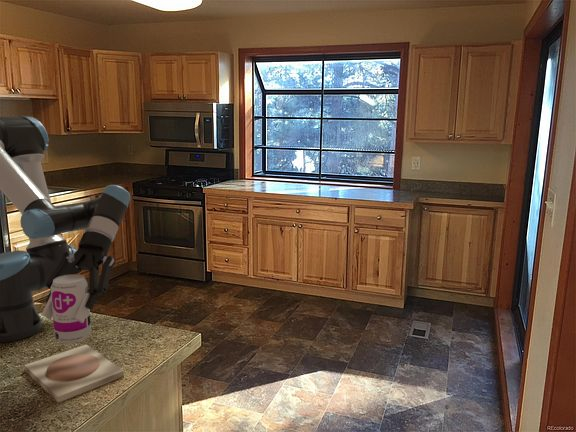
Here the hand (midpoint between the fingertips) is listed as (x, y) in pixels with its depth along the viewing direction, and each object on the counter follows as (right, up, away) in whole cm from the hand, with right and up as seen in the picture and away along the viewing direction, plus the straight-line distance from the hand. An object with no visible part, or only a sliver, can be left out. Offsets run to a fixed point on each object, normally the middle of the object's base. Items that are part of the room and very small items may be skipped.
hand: (62, 318), depth 114 cm
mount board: (0, -15, +7) cm, 17 cm away
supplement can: (+1, -6, +4) cm, 7 cm away
